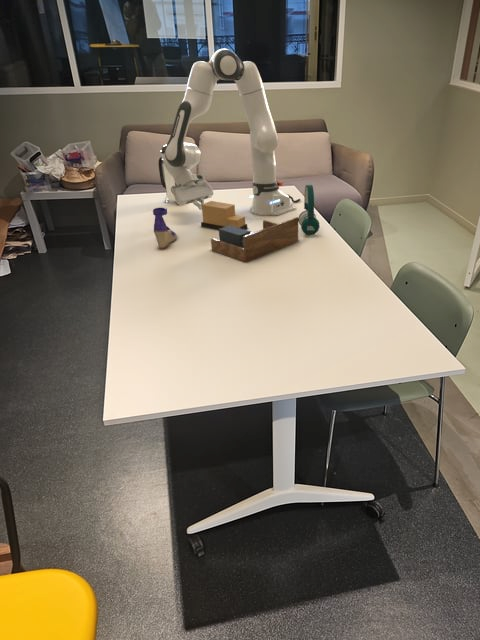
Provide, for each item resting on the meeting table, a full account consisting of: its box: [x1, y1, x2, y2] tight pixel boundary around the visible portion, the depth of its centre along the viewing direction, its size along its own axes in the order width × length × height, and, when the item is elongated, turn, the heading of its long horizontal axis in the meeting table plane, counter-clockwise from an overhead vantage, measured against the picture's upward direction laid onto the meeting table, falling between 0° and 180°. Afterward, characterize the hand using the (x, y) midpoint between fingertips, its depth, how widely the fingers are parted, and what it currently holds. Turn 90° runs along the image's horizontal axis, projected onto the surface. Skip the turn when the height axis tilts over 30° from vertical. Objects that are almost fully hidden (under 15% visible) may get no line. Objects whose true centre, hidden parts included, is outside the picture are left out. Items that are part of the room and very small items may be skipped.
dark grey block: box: [218, 225, 252, 248], centre depth 204 cm, size 20×7×8 cm, turn 50°
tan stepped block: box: [200, 200, 248, 231], centre depth 227 cm, size 20×8×10 cm, turn 62°
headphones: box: [298, 184, 320, 236], centre depth 220 cm, size 8×15×20 cm, turn 5°
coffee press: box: [158, 144, 178, 205], centre depth 257 cm, size 17×16×30 cm
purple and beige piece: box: [152, 207, 177, 250], centre depth 210 cm, size 8×20×15 cm, turn 174°
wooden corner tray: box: [210, 216, 299, 263], centre depth 208 cm, size 20×32×10 cm, turn 140°
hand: (202, 208), depth 234 cm, fingers closed
